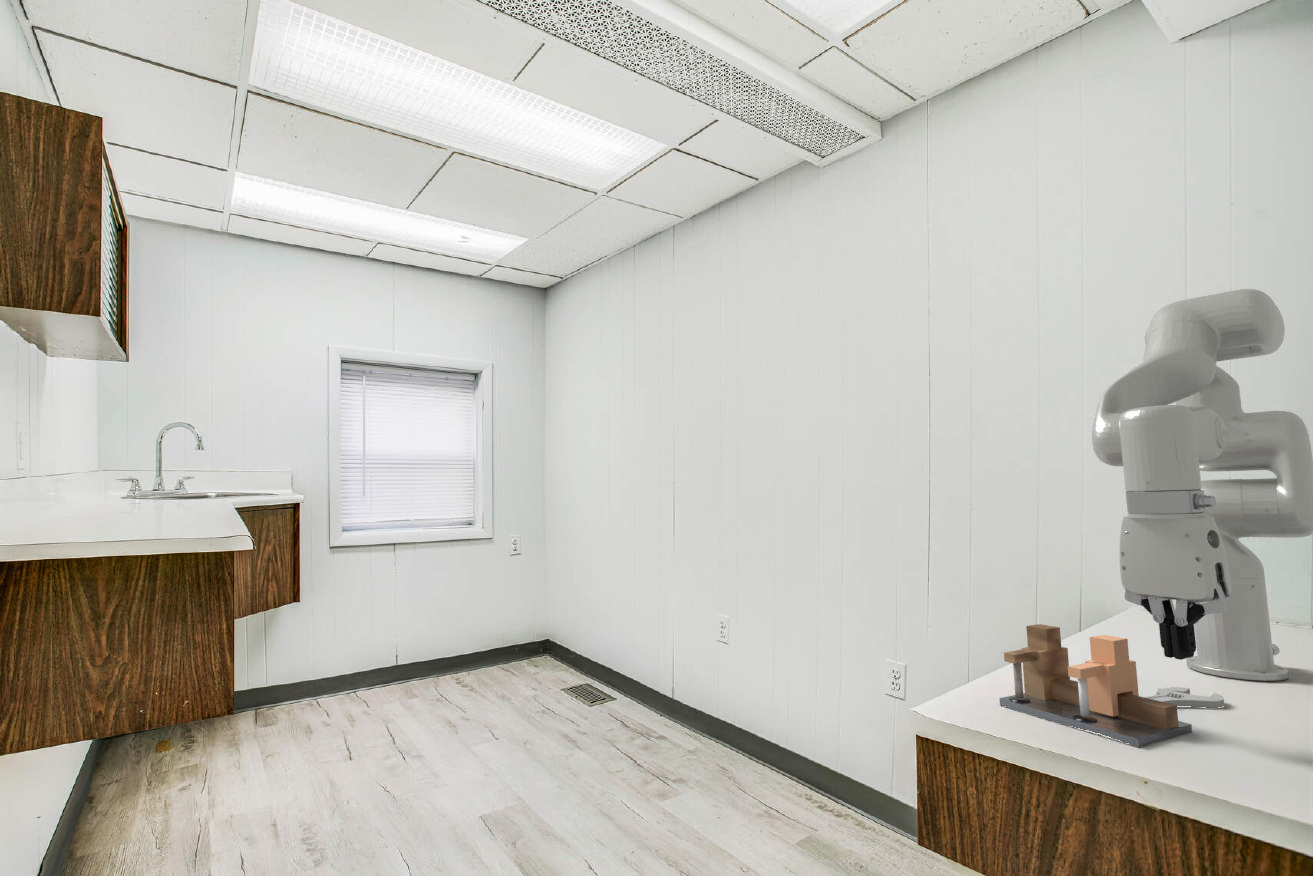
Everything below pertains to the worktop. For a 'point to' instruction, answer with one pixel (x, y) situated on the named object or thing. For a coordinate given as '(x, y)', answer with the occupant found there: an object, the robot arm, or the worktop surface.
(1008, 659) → the trammel bar
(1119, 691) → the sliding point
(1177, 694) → the adjustable wrench
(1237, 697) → the worktop surface
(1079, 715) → the flange plate
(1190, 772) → the worktop surface
